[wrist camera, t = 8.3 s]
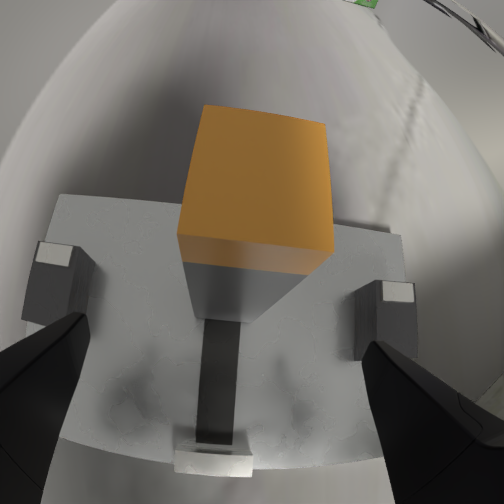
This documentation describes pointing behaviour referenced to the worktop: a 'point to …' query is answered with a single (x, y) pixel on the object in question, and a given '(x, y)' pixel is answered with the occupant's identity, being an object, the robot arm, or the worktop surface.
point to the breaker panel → (216, 345)
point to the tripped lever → (253, 211)
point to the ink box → (365, 2)
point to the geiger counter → (494, 398)
